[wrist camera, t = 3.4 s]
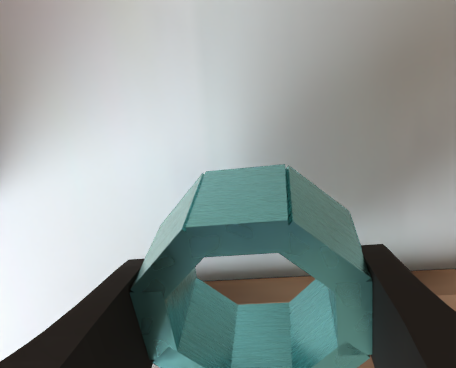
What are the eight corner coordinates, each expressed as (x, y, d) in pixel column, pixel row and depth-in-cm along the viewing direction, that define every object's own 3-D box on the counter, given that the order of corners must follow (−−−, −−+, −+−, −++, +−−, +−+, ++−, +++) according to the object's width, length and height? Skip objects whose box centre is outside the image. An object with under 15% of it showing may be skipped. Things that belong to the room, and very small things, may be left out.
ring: (183, 325, 14) (163, 404, 12) (148, 177, 12) (111, 232, 9) (352, 319, 14) (372, 403, 11) (349, 158, 11) (372, 213, 9)
